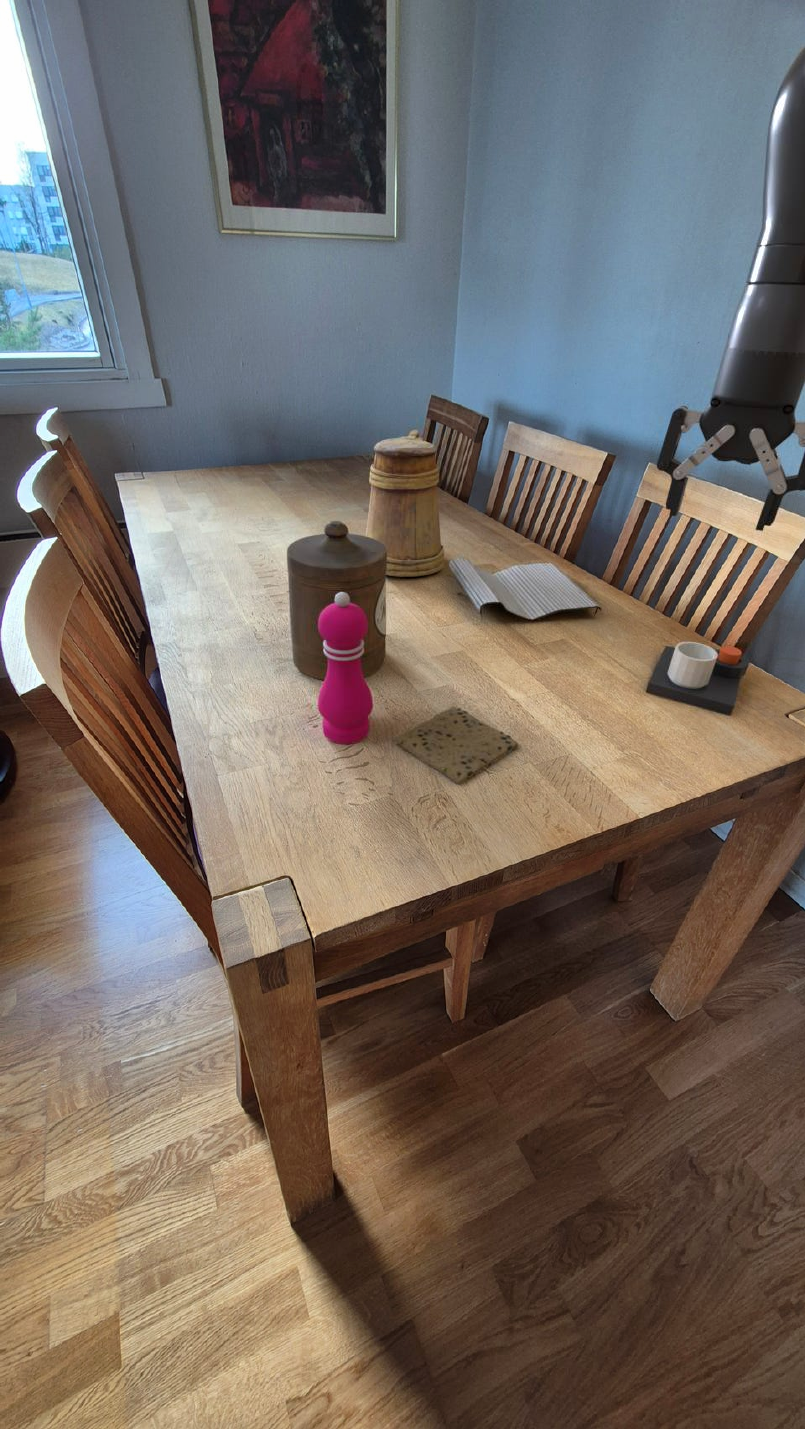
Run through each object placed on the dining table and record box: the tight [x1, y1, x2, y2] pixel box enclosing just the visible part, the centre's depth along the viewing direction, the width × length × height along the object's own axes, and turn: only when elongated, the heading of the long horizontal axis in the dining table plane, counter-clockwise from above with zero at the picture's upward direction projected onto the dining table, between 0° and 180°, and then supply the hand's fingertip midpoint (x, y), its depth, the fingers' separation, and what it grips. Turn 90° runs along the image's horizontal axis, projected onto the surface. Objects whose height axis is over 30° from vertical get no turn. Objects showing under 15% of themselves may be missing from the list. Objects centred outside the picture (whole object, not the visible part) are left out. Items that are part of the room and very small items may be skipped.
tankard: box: [365, 429, 445, 578], centre depth 131 cm, size 18×24×25 cm
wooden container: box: [286, 520, 387, 681], centre depth 95 cm, size 15×15×22 cm
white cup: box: [668, 641, 718, 689], centre depth 93 cm, size 6×6×5 cm
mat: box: [448, 557, 603, 624], centre depth 122 cm, size 23×24×5 cm
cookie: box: [393, 706, 519, 785], centre depth 82 cm, size 12×12×1 cm
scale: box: [645, 645, 750, 716], centre depth 96 cm, size 12×14×4 cm
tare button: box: [718, 645, 743, 664], centre depth 97 cm, size 3×3×2 cm
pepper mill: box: [317, 592, 374, 745], centre depth 79 cm, size 7×7×20 cm
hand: (715, 521), depth 66 cm, fingers open, 8 cm apart
